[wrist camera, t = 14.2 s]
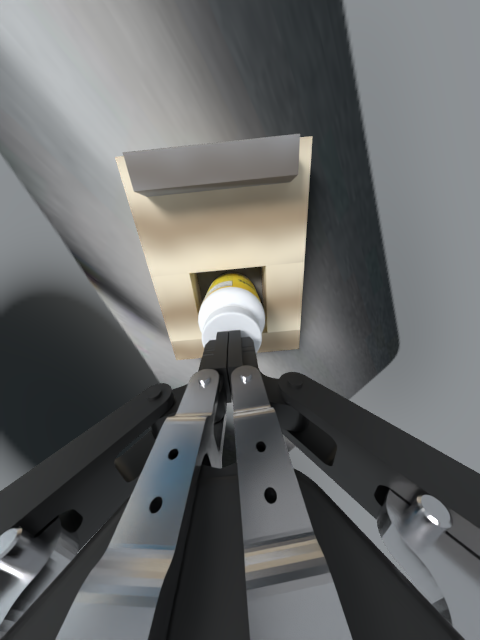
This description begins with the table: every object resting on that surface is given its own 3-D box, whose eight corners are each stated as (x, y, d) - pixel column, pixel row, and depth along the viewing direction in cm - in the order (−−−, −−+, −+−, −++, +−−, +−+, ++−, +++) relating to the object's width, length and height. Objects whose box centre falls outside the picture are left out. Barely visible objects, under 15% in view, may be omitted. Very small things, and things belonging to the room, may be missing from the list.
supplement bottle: (263, 305, 21) (284, 356, 12) (222, 323, 22) (214, 383, 13) (244, 262, 19) (252, 287, 10) (199, 284, 20) (172, 324, 11)
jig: (135, 170, 15) (95, 144, 11) (298, 153, 15) (325, 119, 11) (183, 345, 23) (170, 372, 19) (291, 335, 23) (305, 360, 19)
